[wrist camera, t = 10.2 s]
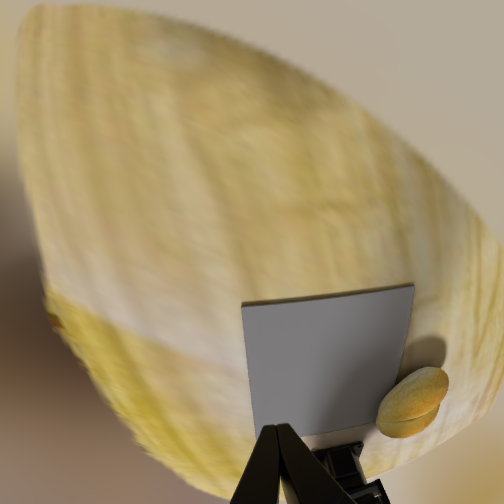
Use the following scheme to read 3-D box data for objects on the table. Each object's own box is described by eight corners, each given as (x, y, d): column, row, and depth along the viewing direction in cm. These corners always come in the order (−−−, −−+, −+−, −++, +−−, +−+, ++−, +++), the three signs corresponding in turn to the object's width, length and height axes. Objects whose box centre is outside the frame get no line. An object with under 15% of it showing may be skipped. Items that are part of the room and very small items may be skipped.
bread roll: (447, 352, 22) (469, 374, 18) (425, 407, 24) (440, 428, 20) (382, 378, 21) (402, 407, 17) (366, 432, 24) (379, 457, 20)
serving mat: (383, 417, 24) (383, 418, 24) (256, 439, 24) (256, 441, 24) (413, 285, 20) (414, 286, 20) (241, 306, 20) (241, 307, 20)
